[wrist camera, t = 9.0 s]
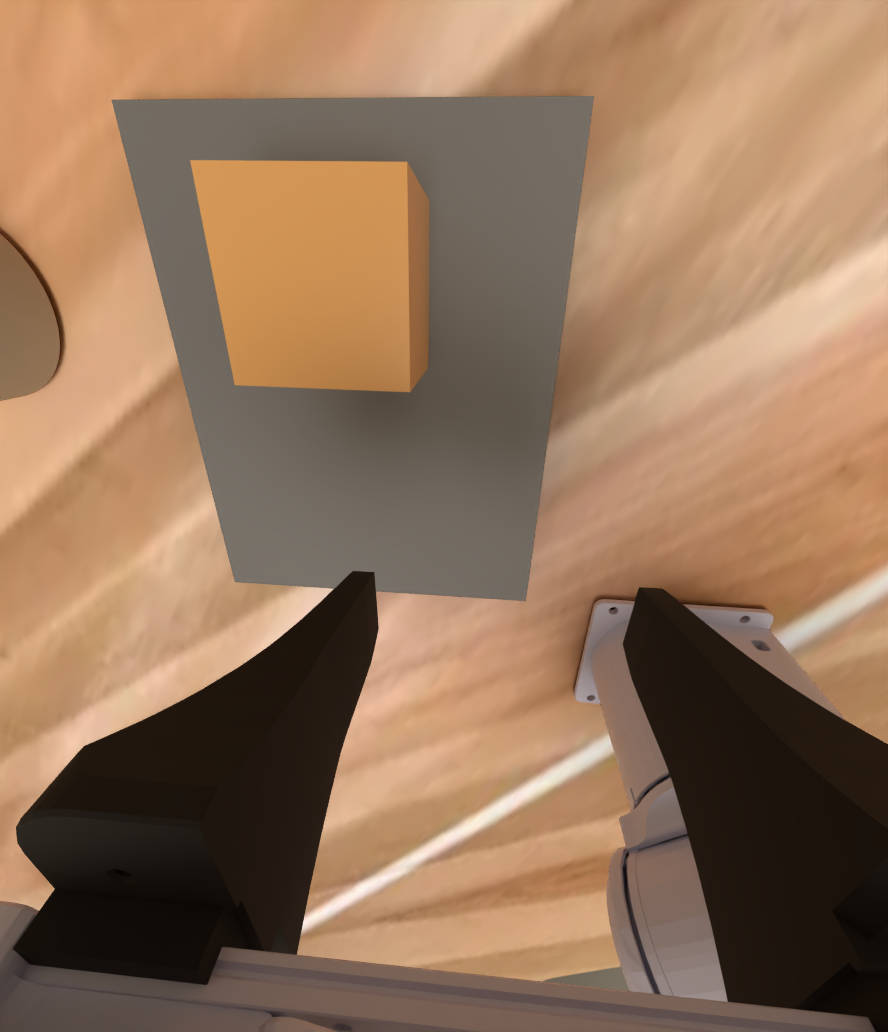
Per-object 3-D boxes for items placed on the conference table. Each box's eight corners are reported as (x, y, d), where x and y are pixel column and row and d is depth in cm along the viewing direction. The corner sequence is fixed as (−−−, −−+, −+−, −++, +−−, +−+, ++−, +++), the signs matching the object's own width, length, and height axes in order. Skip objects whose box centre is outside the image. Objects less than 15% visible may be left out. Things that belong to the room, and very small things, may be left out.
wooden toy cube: (429, 200, 15) (407, 162, 11) (428, 367, 18) (410, 392, 13) (274, 198, 15) (189, 160, 11) (295, 362, 18) (234, 385, 14)
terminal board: (584, 113, 15) (627, 36, 10) (523, 584, 24) (532, 649, 20) (142, 116, 16) (10, 46, 11) (248, 566, 25) (197, 625, 21)
